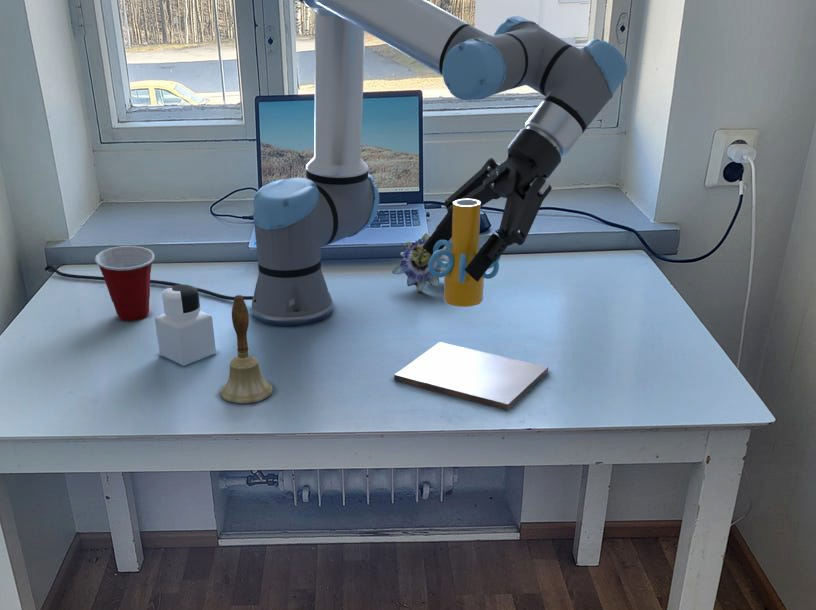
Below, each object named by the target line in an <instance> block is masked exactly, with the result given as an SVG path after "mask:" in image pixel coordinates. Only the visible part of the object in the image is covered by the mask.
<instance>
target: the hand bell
mask: <svg viewBox="0 0 816 610" xmlns="http://www.w3.org/2000/svg"><path fill="white" fill-rule="evenodd" d="M243 296H244V295H241V294H236V295H235V296H233V297H234V300H233V302H232V306H231V307H232V308H231V322H232V327H233V329H234V332H235V335H236V346H237V348H236V349H237V356H236V357H234V358H232V359H231V360H230V362H229V374H228V379H227V381H226V383H225V384H224V385H223V386H222V388H221V390H220V396H221V398H222V399H223V400H225V401H227V402H230V403H232V404H233V403H234V404H243V405H245V404H252V403H257V402H260V401H263V400H265V399H267V398H269V397H270V396H271V395H272V393H273V392H274V389H273V386H272V384H271V383H270V382H269V381H268V380H266V379H265V378H264V376H263V374H262V372H261V369H260V364H259V360H258V358H256V357H254V356H252V355H250V354H249V343H248V330H249V323H250V317H249V316H250V315H249V310H248V307H247V303H246V302H245V300H244V299H243Z"/></svg>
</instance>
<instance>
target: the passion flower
mask: <svg viewBox="0 0 816 610" xmlns="http://www.w3.org/2000/svg"><path fill="white" fill-rule="evenodd" d="M430 236H431V234H429V233H428V232H425V233H424V234H423V235H422V237H421V238H419V239H418V240H415V242H413V241H412V242H411V241H406V244H404V243H402V244H401V247H402V248H403V249H404V250H403V251H402V252H399V256H400V257H401V258H403V259H402V260H400V264H399V265H398V266H396V267H394V268H393V269H392V274H393V275H401V274H405V275H406V277H407V279H406V285H407V287H411V286H415V287H416V291H417V293H420V292H422V291H423V289H424V288H425V286H426V283H427V282H429V283H430V284H431V285H432V286H433V287H437V286H438V285H439V283H440V278H438V277H434V276H433V275H432V274H431V273H430V271H429V268H428V263H429V259H430V257H431V255H430V254H429V253H428V252H427V251H426V250H425V249H424V248H423V246H424V244H425V243H426V242H427V240H428V239H429V238H430ZM443 249H445V250H448V251H450V250H449V249H448V247H447V246H444V248H443ZM439 258H440V259H441V260H442V261H443V262H448V261H449V258H448V257H447V256H446V255H440V256H439ZM433 267H434V270H435V271H436V272H443V271H445V270H446V269H447V268H445V267H441V266H440V265H438V264H437V262H436V261H434V265H433Z"/></svg>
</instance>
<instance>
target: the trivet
mask: <svg viewBox="0 0 816 610" xmlns="http://www.w3.org/2000/svg"><path fill="white" fill-rule="evenodd" d="M548 373H549V367H548V366H545V365H541V364H536V363H532V362H528V361H523V360H520V359H516V358H515V359H514V358H511V357H506V356H503V355H498V354H494V353H489V352H485V351H481V350H476V349H472V348H468V347H463V346H459V345H455V344H451V343H446V342H443V341H439V342H437V343H436V344H435V345H433V346H432V347H430V348H429V349H427V350H426V351H425V352H423V353H422V354H421V355H419V356H418V357H417V358H415V359H414V360H412V361H411V362H410V363H408V364H407V365H406V366H404V367H403V368H402V369H399V370H398V372H396V373H394V375H393V380H394V381H395V382H398V383H402V384H403V383H404V384H406V385H411V386H415V387H418V388H422V389H426V390H430V391H434V392H437V393H441V394H444V395H449V396H453V397H456V398H460V399H464V400H467V401H471V402H474V403H479V404H481V405H482V404H483V405H487V406H490V407H494V408H498V409H500V410H501V409H502V410H506V411H509V410H510V409H511V408H512V407H513V406H514V405H515V404H516V403H517V402H518V401H519V400H520V399H521V398H523V397H524V396H525V395H526V394H527V393H528V392H529V391H530V390H531V389H532V388H533V387H534V386H536V385H537V383H539V382H540V381H542V379H543V378H544V377H545V376H547V374H548Z"/></svg>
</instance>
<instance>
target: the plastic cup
mask: <svg viewBox="0 0 816 610" xmlns="http://www.w3.org/2000/svg"><path fill="white" fill-rule="evenodd" d="M154 260H155V253H154V252H153V250H151V249H149V248H146V247H143V246H135V245H119V246H114V247H108V248H105V249H103V250H102V251H100V252H99V253H98V254H96V255H95V258H94V261H95V263H96V264H97V265H98V267H99V270H100V272H101V274H102V275H101V276H102V277H104V279H105V280H104V282H105V284H106V288H107V291H108V293H109V296H110V300H111V301H112V303H113V307H114V309H115V313H116V315H117V317H118V318H119V320H121V321H124V322H137V321H141V320H144V319H146V318H147V317H149V313H150V298H151V283H150V280H151V273H152V265H153V262H154Z"/></svg>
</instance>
